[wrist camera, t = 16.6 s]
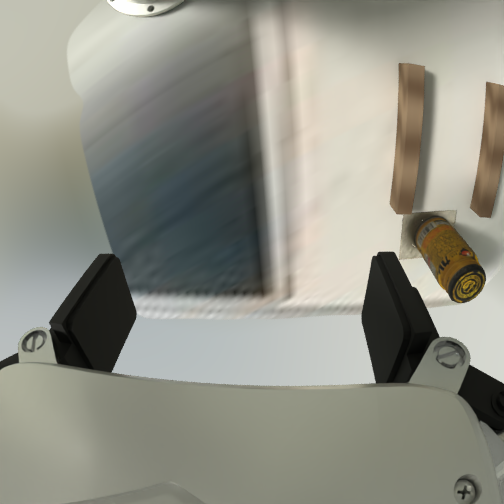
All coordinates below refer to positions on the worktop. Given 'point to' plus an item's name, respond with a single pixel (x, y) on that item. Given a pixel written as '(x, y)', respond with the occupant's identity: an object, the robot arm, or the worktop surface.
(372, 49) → the worktop surface
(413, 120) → the channel
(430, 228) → the yellow and black cylinder
